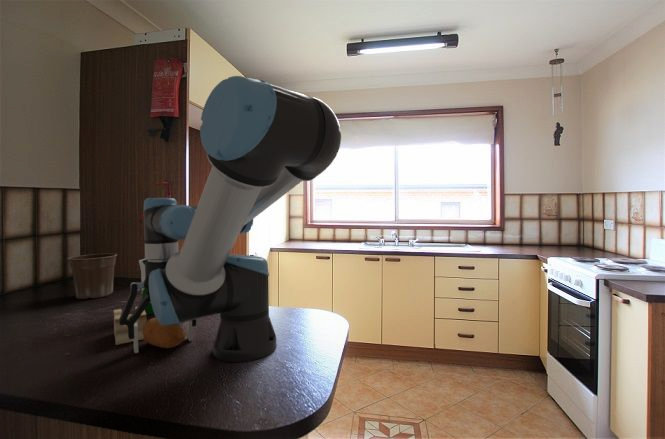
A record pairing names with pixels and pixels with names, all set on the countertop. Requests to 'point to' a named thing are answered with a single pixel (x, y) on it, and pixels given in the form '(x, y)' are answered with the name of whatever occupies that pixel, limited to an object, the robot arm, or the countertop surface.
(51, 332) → the countertop surface
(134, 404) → the countertop surface
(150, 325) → the potato
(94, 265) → the plant pot
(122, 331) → the cradle
